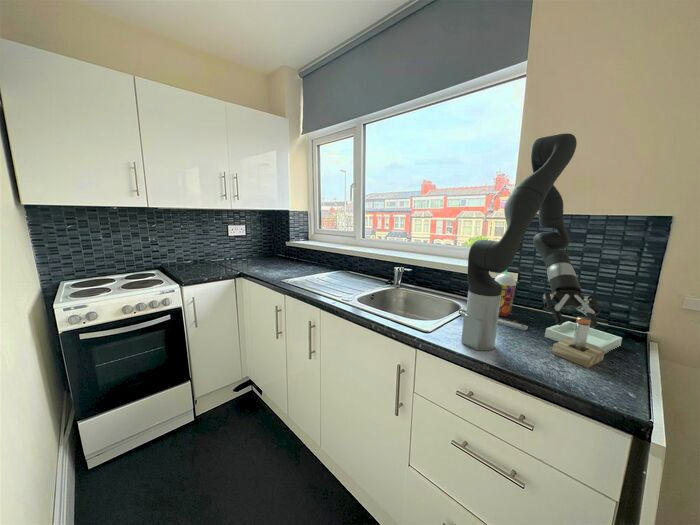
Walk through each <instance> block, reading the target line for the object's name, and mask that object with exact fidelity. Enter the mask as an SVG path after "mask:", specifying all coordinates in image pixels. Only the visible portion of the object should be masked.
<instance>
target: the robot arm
mask: <svg viewBox="0 0 700 525" xmlns="http://www.w3.org/2000/svg"><path fill="white" fill-rule="evenodd" d="M577 145H578V144H577V138H576V136H575V135H574V134H572V133H566V132H565V133H560V134H553V135H547V136H544V137H542V136H541V137H540V138H536V140H534V142H533V143H532V145H531V148H530V164H531V169H532V173H531V174H530V175H529V176H527V177H525V178H524V179H523V180H521V181H520V182H519V183H518V184H517V185H516V186H515V187H514V188H513V190H512V191H511V192H510V194H509V196H508V198H507V200H506V202H505V204H504V208H503V211H504V217H505V222H506V229H505V231H504V233H503V235H502V236H501V238H500V239H499V240H498V241H497V240H490V239H489V240H488V239H476V240H475V241H474V242H473V243H472V245H471V246H470V248H469V252H468V257H467V277H466V278H467V284H468V290H467V291H468V292H467V299H466V308H465V309H466V314H465V315H464V317H463V322H462V331H461V332H462V333H461V341H460V342H461V343H462V344H464V345H465V346H467V347H469V348H471V349H473V350H476V351H491V350H494V349H495V347H496V341H497V331H498V319H499V317H500V316H499V308H500V301H501V293H502V286H501V285H500V284H499V283H498V282H497V281H495V278H493V277H492V276H491V274H490V272H491V273H496V274H503V273H505V271H506V270H507V271H508V269H509V267H510V266H511V264H512V263H513V261H514V259H515V256H516V254H517V252H518V250H519V248H520V245H521V243H522V241H523V238H524V237H525V235H526V233H527V230H528V228H529V227H530V225H531V223H532V221H533V219H534V218H535V217H536V215H537V214H538V223H539V226H541V227H543V228H545V227H546V228H552V229H553V228H554V229H555V230H551V231H542V232H537V234H535V235H534V236H533V240H532V243H533V247H534V248H535V250H536V251H537V253H538V254H539V255H540V257H541V258H542V260H543V261H544V264H545V269H546V272H547V273H546V274H547V279H548V282H549V286H550V290H551V293H550V292H549V291H546V292H544V294H543V295H542V301H543V307H544V308H543V309H544V311H545V312H546V313H551V314H552V316H553V319H554V323H555V324H556V325H562V324H563V323H564V319H563V316H562V312H561V311H560V310H561V309H562V308H563V309H571V310H576V311H578V312H580V313H582V314H583V315H585V317H586V318H589V319H591V322H590V326H589V328H593V329H595V328H596V327H597V325H598V321H597V318H596V316H597V315H599V314H600V313H601V312H602V310H601V308H600V306H599V303H598V301H597V298H596V297H595V295H594V294H590V295H583V294H582V289H581V285H580V283H579V280H578V278H577V274H576V271H575V270H574V267H573V265H572V263H571V260H570V256H569V254H568V253H567V252H566V251H564V250H565V249H566V248H568V246H569V245H570V237H569V235H568V231H567V229H566V226H565V222H564V200H563V197H562V195H561V193H560V191H559V190H558V189H557V188H556V186H555V182H556V181H557V180H558V178H559V177H560V175H561V174H562V172H564V170H565V168H566V167H567V166H568V164H570V162H571V161H572V159H573V157H574V154H575V152H576V150H577ZM552 300H554V301H555V302H556V304H555V306H553V303H552ZM581 306H582V307H581Z"/></svg>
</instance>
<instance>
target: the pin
mask: <svg viewBox="0 0 700 525" xmlns="http://www.w3.org/2000/svg"><path fill="white" fill-rule="evenodd" d="M586 317H587V316H576V321H575V323H576V327H575V332H574V338H573V343H572V348H574V349H577V350H580V351H582V352H584V351H585V347H586V341H587V336H588V331H589V326H590V322H591V319H589V318H586Z"/></svg>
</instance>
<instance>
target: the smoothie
mask: <svg viewBox="0 0 700 525" xmlns="http://www.w3.org/2000/svg"><path fill="white" fill-rule="evenodd" d="M494 280H495V281H497V282H498V283H499V284H500V285H501V286H502V293H501V301H500V308H499V316H498V317H507V316H509V314H511V311H512V307H513V302H514V299H515V298H514V297H515V293H516V292H515V291H516V287H517V282H516V280H515V278H514V277H513V276H512V275H510V274H509V273H508V269H507V270H506V271H504V272H503V273H499V274H498V275H496V277H495V278H494Z"/></svg>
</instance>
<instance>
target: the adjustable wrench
mask: <svg viewBox="0 0 700 525" xmlns="http://www.w3.org/2000/svg"><path fill="white" fill-rule="evenodd" d="M466 309H467V308H458V311H459V312H458V315H459V314H460V315H461V317H463V318H464V315H465V314H466ZM460 311H462V312H460ZM460 315H459V316H460ZM498 324H499V325H503V326H505V327H506V326H507V327H510V328H514V329H519V330H522V331H527V330H528V328H529V327H528V325H526V324H522V323H519V322H513V321H509V320H506V319H501V318H498ZM498 324H497V325H498Z"/></svg>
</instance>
